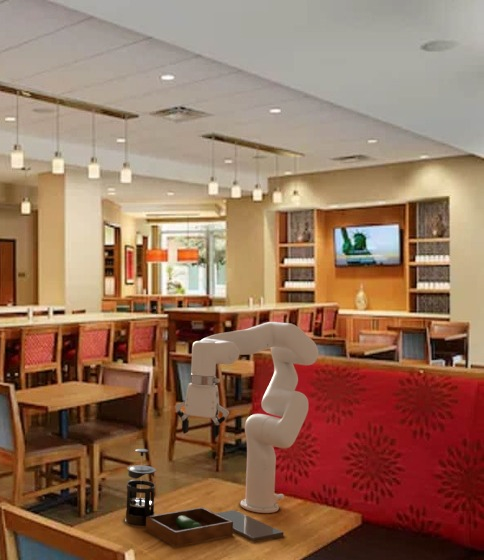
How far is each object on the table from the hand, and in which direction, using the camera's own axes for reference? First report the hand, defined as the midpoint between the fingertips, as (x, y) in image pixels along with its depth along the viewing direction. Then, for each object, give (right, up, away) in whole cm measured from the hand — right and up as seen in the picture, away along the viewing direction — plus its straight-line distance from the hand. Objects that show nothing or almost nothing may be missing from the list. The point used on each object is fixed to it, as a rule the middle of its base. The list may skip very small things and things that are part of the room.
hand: (200, 434), depth 228 cm
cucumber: (-5, -28, -8) cm, 29 cm away
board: (+13, -29, -2) cm, 32 cm away
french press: (-19, -28, +1) cm, 34 cm away
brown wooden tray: (-5, -28, -8) cm, 30 cm away
